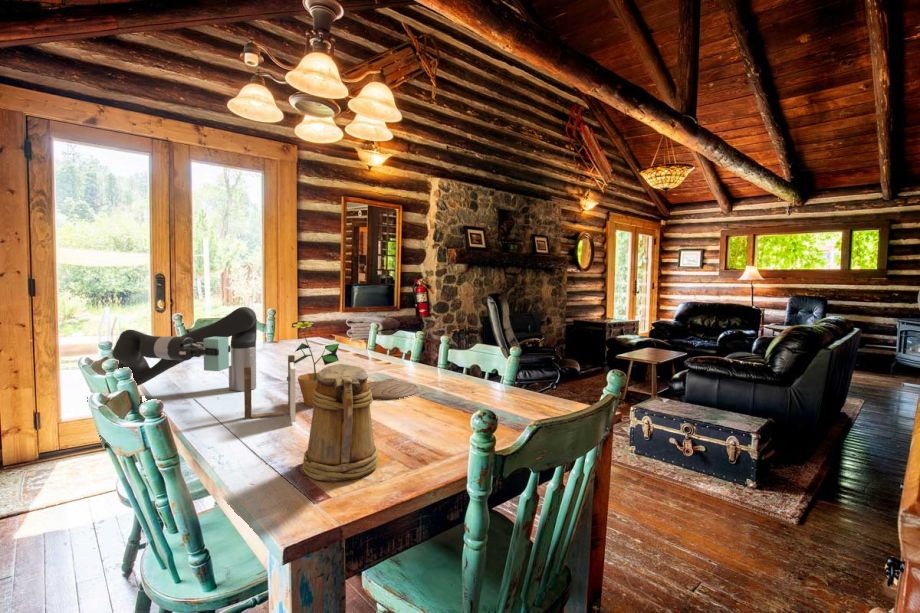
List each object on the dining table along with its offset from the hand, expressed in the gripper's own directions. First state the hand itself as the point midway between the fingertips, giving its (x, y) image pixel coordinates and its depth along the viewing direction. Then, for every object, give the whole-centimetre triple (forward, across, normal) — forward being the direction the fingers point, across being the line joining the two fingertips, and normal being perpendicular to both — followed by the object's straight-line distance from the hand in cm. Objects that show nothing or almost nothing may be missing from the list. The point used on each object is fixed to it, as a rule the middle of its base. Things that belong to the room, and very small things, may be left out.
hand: (223, 350), depth 143 cm
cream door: (+19, -6, -22) cm, 30 cm away
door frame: (+11, -8, -23) cm, 27 cm away
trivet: (+39, -47, -24) cm, 66 cm away
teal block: (-3, 0, -6) cm, 7 cm away
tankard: (+50, +27, -23) cm, 61 cm away
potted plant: (+19, -25, -23) cm, 39 cm away
